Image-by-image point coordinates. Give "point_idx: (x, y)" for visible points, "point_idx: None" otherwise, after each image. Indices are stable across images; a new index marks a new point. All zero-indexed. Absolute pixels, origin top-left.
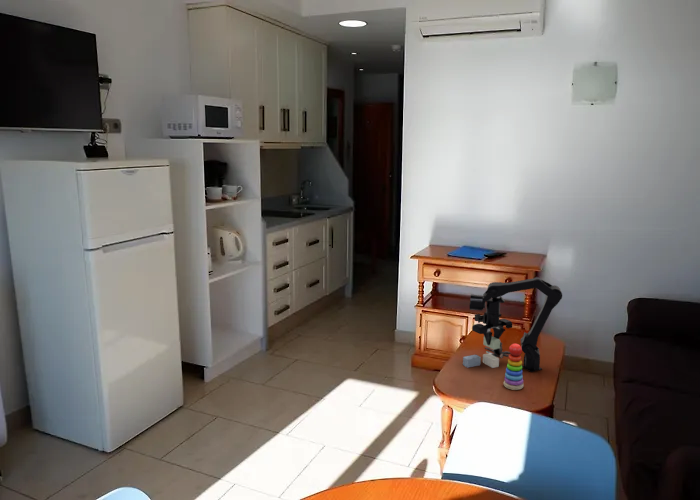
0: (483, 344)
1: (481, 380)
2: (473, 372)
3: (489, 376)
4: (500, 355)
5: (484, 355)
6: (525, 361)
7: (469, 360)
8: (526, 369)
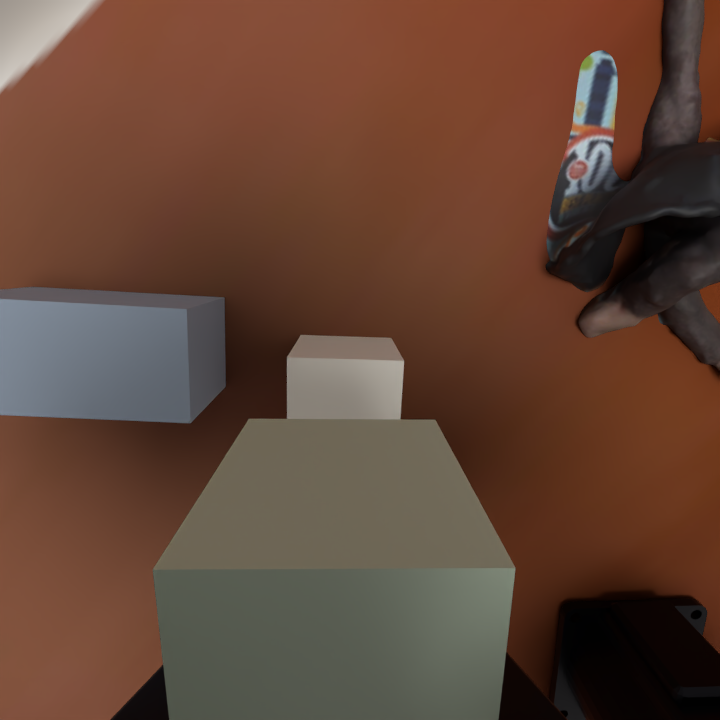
0: (247, 423)
1: (23, 660)
2: (43, 501)
3: (145, 628)
4: (604, 317)
5: (287, 392)
6: (614, 705)
7: (2, 407)
8: (554, 667)
